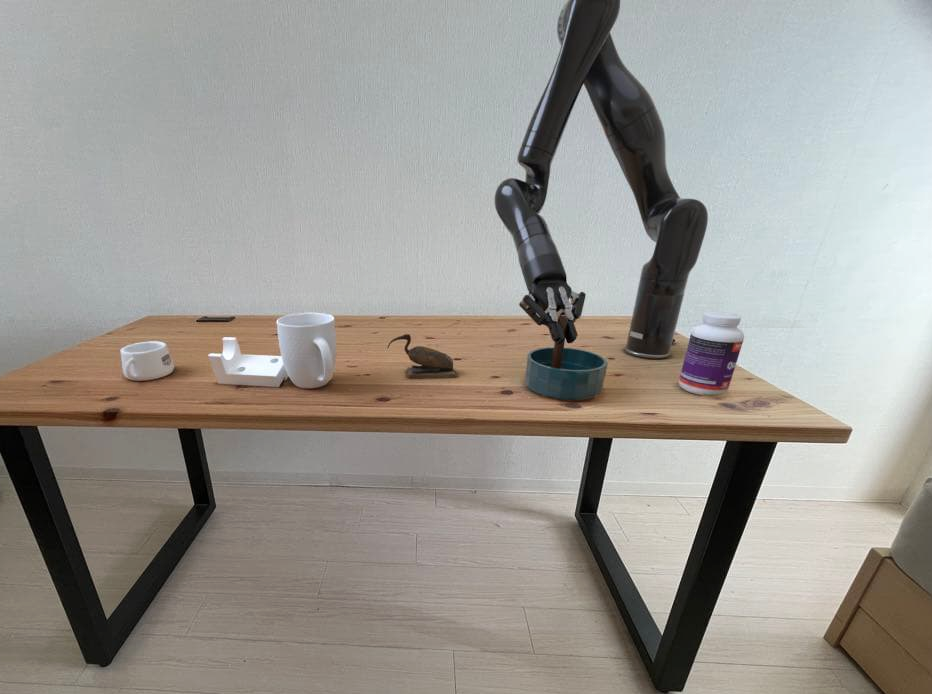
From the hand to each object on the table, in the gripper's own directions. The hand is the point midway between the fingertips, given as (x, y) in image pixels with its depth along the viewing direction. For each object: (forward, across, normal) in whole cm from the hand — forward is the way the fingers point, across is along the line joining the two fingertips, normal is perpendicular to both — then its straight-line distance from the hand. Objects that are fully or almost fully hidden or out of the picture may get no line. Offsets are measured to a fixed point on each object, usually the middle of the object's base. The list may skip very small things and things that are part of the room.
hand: (566, 341), depth 84 cm
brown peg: (+4, 0, +7) cm, 8 cm away
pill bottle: (+12, +26, +1) cm, 28 cm away
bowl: (+7, +1, +7) cm, 9 cm away
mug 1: (-13, -80, +27) cm, 85 cm away
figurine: (-3, -24, +17) cm, 29 cm away
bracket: (-7, -58, +21) cm, 62 cm away
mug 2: (-3, -46, +17) cm, 49 cm away
